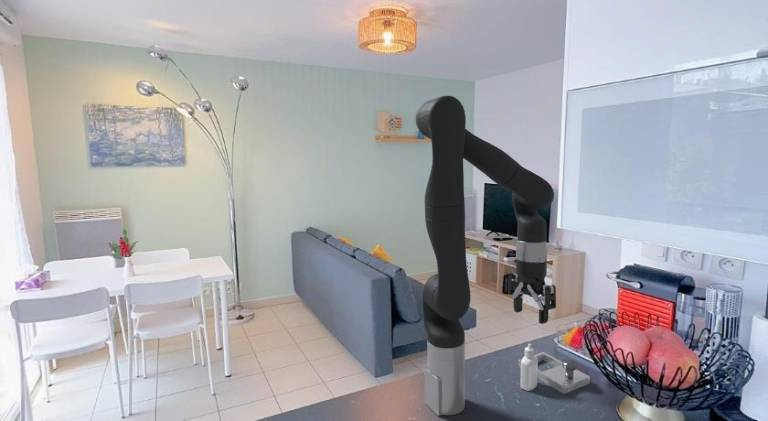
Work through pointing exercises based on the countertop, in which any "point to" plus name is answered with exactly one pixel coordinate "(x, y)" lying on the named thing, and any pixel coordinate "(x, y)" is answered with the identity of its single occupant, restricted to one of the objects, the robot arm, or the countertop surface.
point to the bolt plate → (561, 374)
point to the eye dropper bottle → (529, 369)
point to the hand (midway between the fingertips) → (530, 317)
